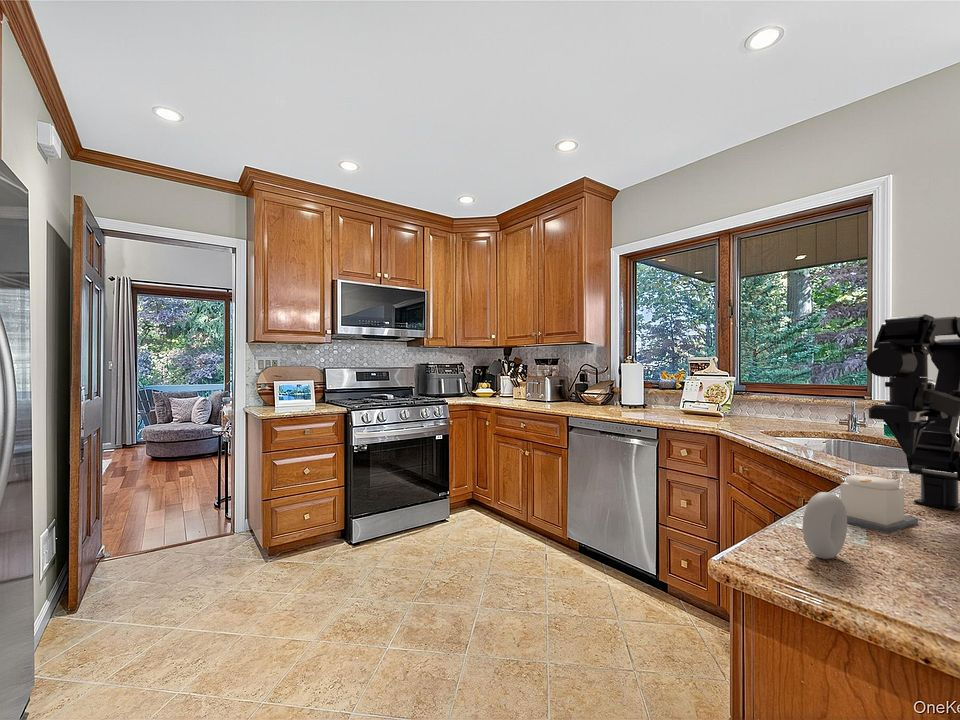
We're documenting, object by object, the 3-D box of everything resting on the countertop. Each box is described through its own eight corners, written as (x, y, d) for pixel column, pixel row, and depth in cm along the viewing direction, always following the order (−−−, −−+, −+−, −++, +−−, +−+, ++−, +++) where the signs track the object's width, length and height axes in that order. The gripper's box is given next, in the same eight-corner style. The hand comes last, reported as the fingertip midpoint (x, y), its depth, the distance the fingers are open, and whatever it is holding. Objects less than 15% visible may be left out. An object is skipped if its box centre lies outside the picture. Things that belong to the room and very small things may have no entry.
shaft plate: (857, 509, 94) (857, 477, 94) (917, 523, 86) (917, 488, 86) (826, 517, 89) (826, 483, 89) (887, 533, 80) (887, 495, 80)
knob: (858, 508, 92) (857, 472, 92) (907, 520, 85) (906, 481, 85) (838, 513, 88) (838, 476, 88) (887, 526, 81) (887, 485, 81)
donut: (826, 569, 65) (825, 499, 66) (798, 561, 68) (798, 494, 68) (851, 554, 71) (850, 490, 71) (825, 547, 74) (824, 485, 74)
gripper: (942, 378, 81) (944, 466, 80) (982, 378, 89) (984, 457, 89) (866, 377, 91) (867, 455, 90) (909, 377, 99) (910, 449, 99)
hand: (909, 454), depth 92 cm, fingers closed
